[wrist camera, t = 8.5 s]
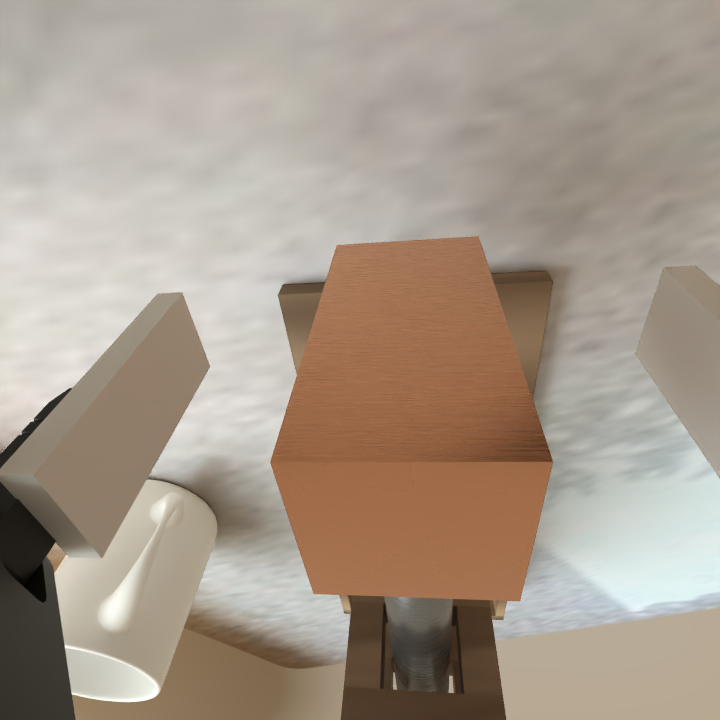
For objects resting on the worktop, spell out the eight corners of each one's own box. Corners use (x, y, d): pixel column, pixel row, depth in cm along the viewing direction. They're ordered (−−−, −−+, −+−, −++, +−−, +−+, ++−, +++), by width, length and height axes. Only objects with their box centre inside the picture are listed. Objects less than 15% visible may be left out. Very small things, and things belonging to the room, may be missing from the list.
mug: (256, 481, 31) (199, 659, 22) (199, 554, 37) (139, 712, 29) (133, 429, 29) (17, 604, 20) (96, 516, 35) (-3, 675, 27)
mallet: (336, 245, 13) (270, 462, 7) (478, 236, 12) (552, 461, 6) (385, 600, 26) (378, 790, 19) (456, 603, 25) (473, 798, 19)
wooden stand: (282, 284, 21) (126, 622, 9) (547, 271, 20) (757, 651, 8) (348, 575, 37) (321, 835, 26) (496, 580, 36) (541, 858, 24)
